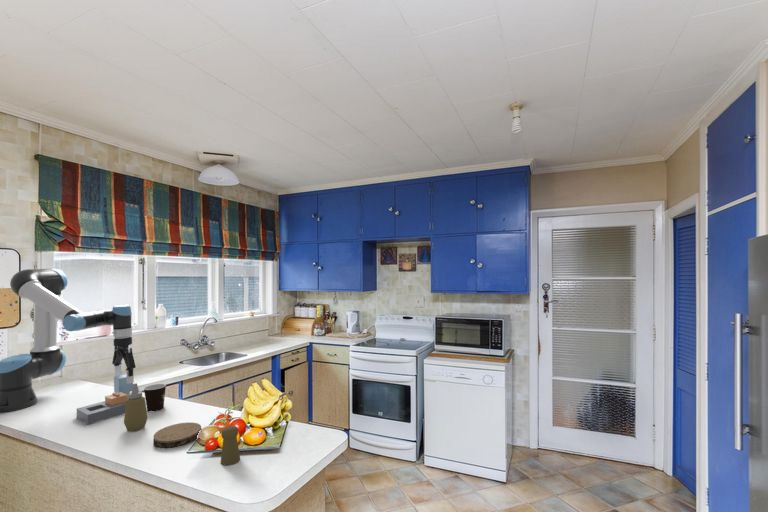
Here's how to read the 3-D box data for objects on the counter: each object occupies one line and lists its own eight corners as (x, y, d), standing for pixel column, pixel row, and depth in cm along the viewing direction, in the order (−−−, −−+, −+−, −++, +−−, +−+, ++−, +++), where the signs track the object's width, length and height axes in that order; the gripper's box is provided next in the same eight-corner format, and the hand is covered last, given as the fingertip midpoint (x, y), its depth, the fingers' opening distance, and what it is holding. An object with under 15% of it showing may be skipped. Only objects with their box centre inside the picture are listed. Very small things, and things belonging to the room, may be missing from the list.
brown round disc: (168, 453, 135) (168, 444, 135) (144, 443, 144) (144, 434, 144) (210, 435, 149) (210, 427, 149) (186, 426, 157) (186, 419, 157)
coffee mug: (156, 413, 172) (155, 390, 172) (139, 412, 173) (139, 389, 174) (175, 403, 183) (175, 382, 183) (159, 402, 185) (159, 381, 185)
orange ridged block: (110, 405, 171) (110, 397, 171) (105, 403, 175) (104, 394, 175) (127, 401, 176) (127, 392, 176) (121, 398, 180) (121, 390, 180)
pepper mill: (223, 456, 131) (223, 424, 131) (242, 455, 132) (241, 422, 132) (217, 466, 125) (217, 431, 125) (237, 465, 126) (236, 430, 126)
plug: (114, 400, 189) (113, 376, 190) (128, 396, 194) (127, 373, 194) (119, 402, 186) (119, 378, 186) (133, 399, 191) (132, 375, 191)
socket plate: (87, 424, 161) (87, 414, 161) (76, 417, 169) (76, 408, 169) (135, 410, 176) (135, 401, 176) (123, 404, 183) (123, 396, 183)
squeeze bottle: (152, 426, 158) (151, 381, 158) (134, 434, 150) (133, 387, 150) (137, 423, 161) (137, 380, 161) (118, 432, 153) (117, 386, 153)
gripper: (103, 336, 195) (105, 379, 194) (125, 340, 180) (126, 386, 180) (120, 333, 201) (122, 375, 201) (142, 337, 186) (144, 382, 186)
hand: (124, 380), depth 190 cm, fingers open, 13 cm apart
